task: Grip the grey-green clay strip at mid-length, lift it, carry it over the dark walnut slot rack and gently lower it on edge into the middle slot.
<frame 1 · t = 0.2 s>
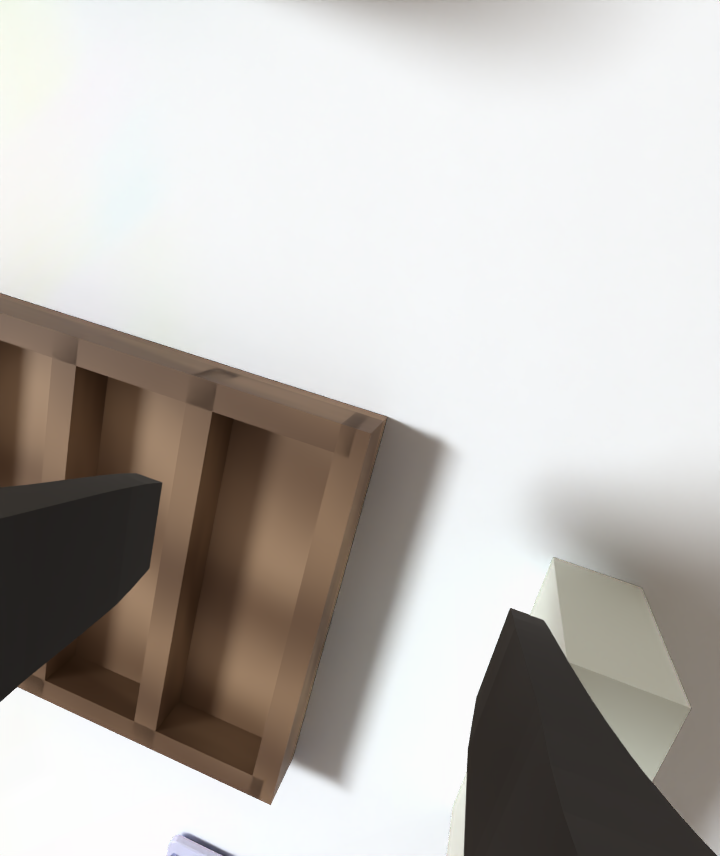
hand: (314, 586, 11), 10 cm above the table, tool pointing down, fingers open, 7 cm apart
clay strip: (537, 705, 22), on the table
strip rack: (145, 531, 24), on the table
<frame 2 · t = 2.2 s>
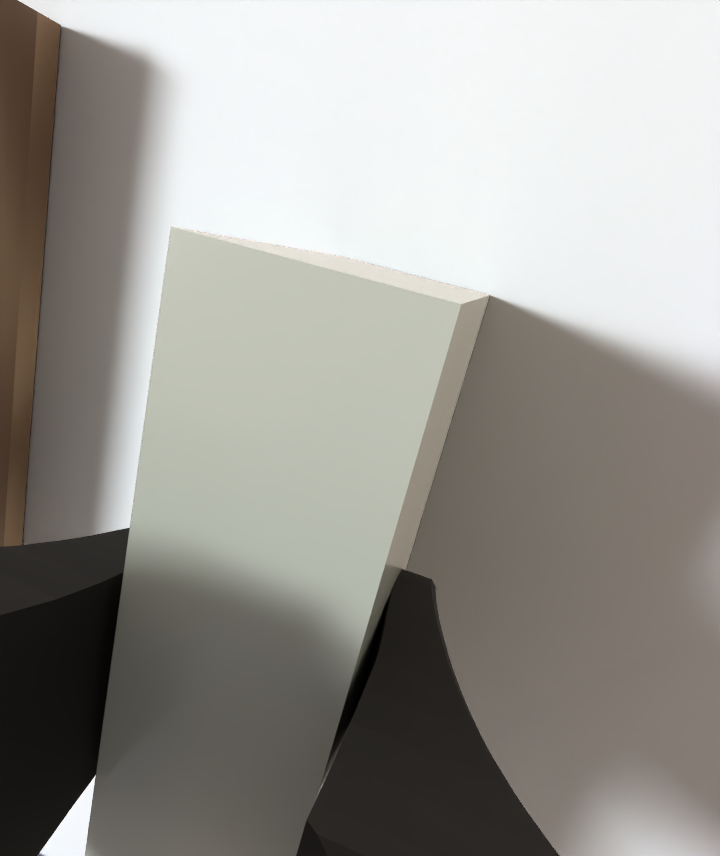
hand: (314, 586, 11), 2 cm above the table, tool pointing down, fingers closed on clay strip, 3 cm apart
clay strip: (343, 543, 13), on the table, touching gripper
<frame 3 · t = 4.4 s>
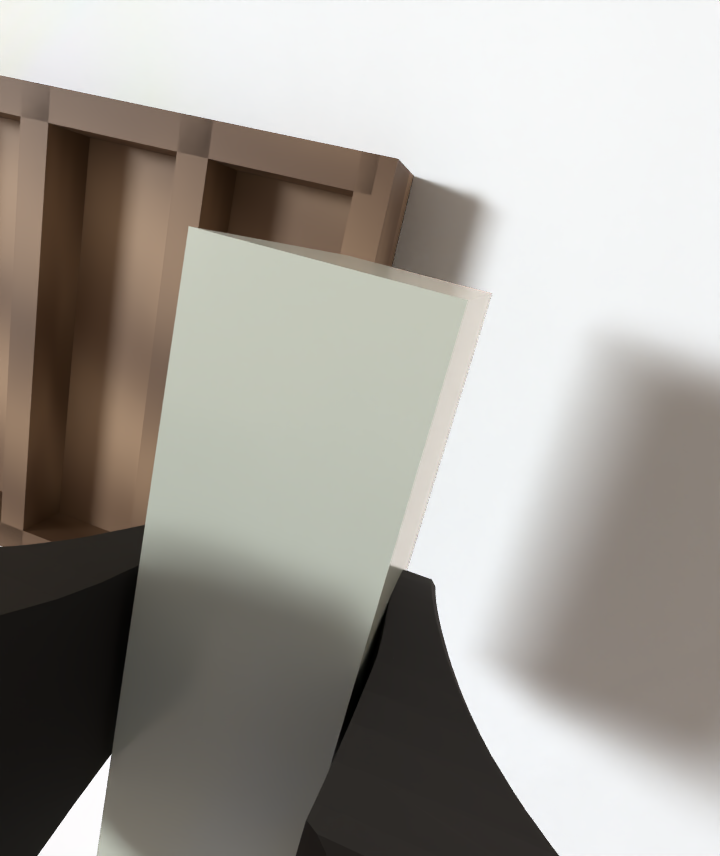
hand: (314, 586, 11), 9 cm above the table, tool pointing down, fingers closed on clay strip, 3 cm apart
clay strip: (347, 537, 13), point 7 cm above the table, touching gripper
strip rack: (135, 357, 21), on the table
when the fingers open (3 cm above the table, at t = 6.6 s): clay strip stays where it is, resting on strip rack.
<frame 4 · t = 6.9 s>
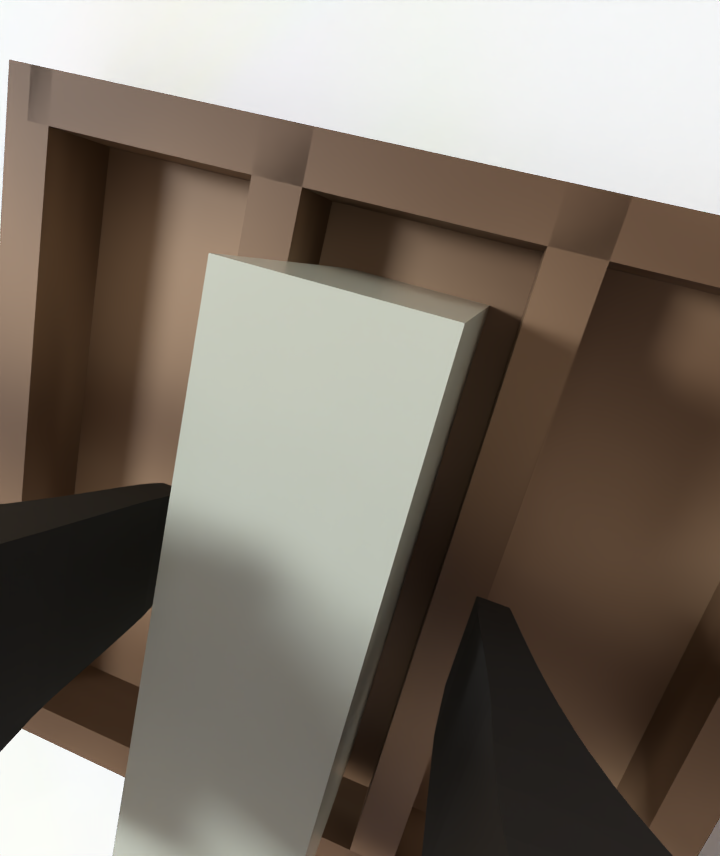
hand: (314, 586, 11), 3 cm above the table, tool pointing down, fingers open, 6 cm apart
clay strip: (350, 538, 14), point 1 cm above the table, touching strip rack
strip rack: (359, 520, 14), on the table
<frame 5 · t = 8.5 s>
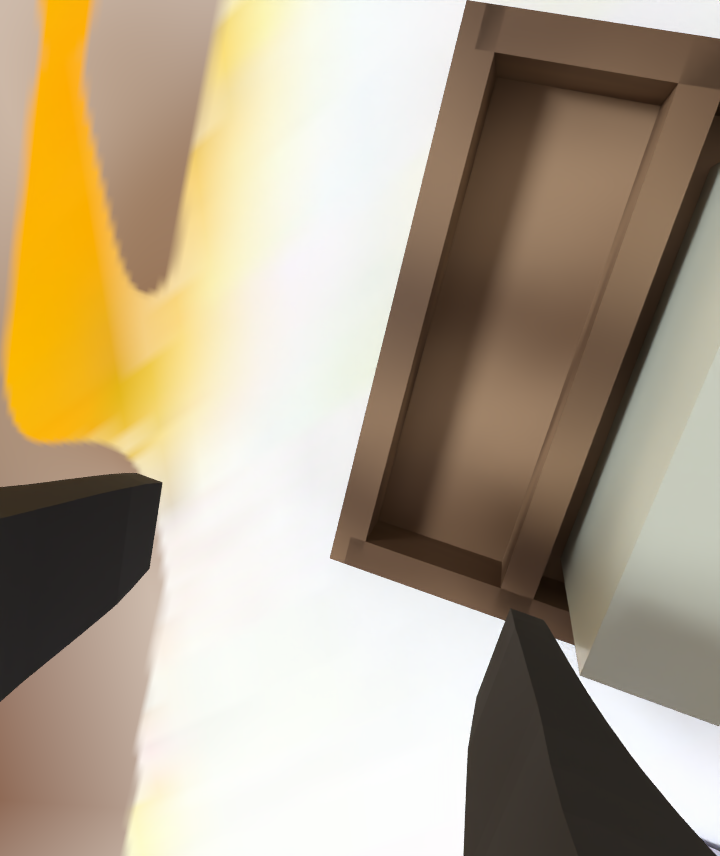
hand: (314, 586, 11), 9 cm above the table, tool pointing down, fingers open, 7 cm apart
clay strip: (680, 397, 17), point 1 cm above the table, touching strip rack
strip rack: (677, 386, 17), on the table
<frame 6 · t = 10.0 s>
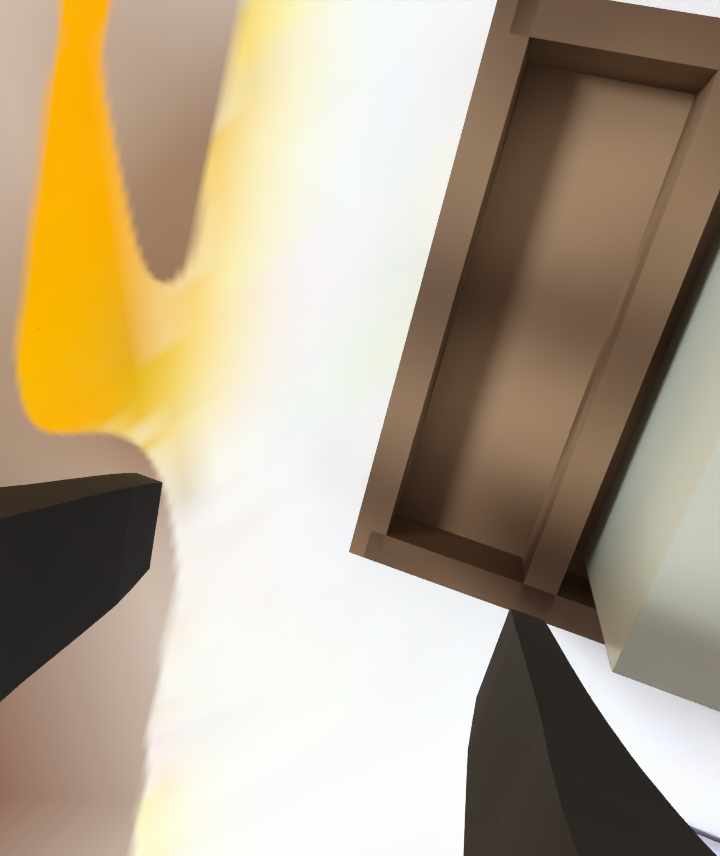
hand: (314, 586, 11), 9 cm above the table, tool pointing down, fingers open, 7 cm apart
clay strip: (709, 391, 16), point 1 cm above the table, touching strip rack
strip rack: (705, 381, 17), on the table
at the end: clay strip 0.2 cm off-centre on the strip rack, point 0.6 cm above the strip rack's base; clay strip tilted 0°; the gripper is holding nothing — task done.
